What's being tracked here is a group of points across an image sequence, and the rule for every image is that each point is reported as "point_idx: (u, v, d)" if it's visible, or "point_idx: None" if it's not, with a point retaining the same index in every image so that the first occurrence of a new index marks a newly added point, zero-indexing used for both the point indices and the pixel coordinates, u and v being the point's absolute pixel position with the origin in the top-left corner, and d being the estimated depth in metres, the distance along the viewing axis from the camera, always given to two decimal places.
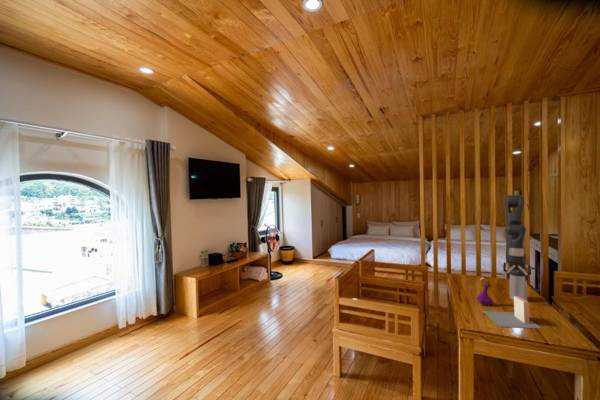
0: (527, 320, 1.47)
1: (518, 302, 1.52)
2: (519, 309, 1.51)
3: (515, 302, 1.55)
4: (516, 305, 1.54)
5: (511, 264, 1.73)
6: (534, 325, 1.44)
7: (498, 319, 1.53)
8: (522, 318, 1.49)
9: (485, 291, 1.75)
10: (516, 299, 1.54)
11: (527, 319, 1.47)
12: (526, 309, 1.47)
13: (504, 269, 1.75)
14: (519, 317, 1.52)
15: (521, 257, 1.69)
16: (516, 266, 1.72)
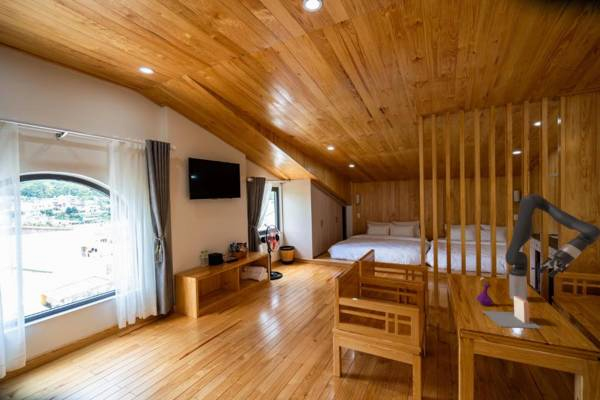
0: (527, 320, 1.47)
1: (518, 302, 1.52)
2: (519, 309, 1.51)
3: (515, 302, 1.55)
4: (516, 305, 1.54)
5: None
6: (534, 325, 1.44)
7: (498, 319, 1.53)
8: (522, 318, 1.49)
9: (485, 291, 1.75)
10: (516, 299, 1.54)
11: (527, 319, 1.47)
12: (526, 309, 1.47)
13: None
14: (519, 317, 1.52)
15: None
16: None
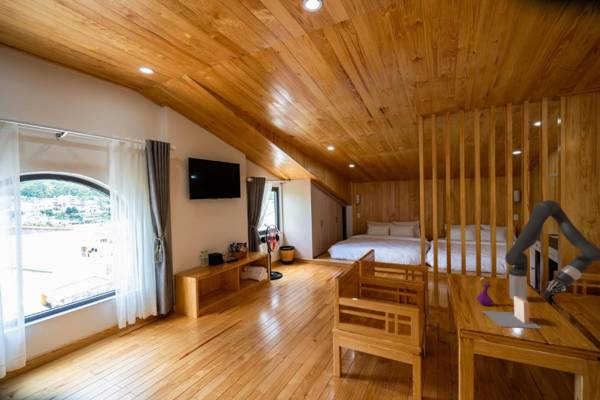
0: (527, 320, 1.47)
1: (518, 302, 1.52)
2: (519, 309, 1.51)
3: (515, 302, 1.55)
4: (516, 305, 1.54)
5: None
6: (534, 325, 1.44)
7: (498, 319, 1.53)
8: (522, 318, 1.49)
9: (485, 291, 1.75)
10: (516, 299, 1.54)
11: (527, 319, 1.47)
12: (526, 309, 1.47)
13: None
14: (519, 317, 1.52)
15: None
16: None
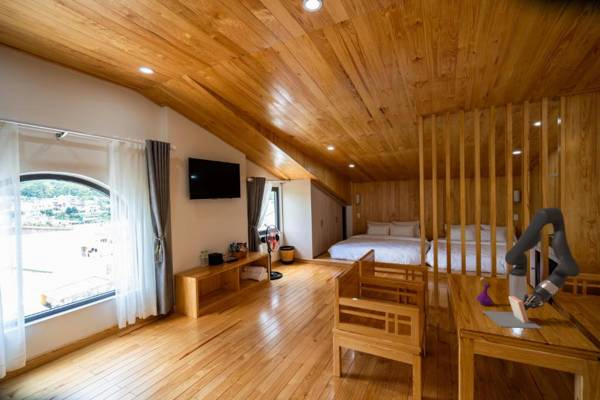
0: (526, 319, 1.47)
1: (513, 302, 1.53)
2: (516, 309, 1.52)
3: (511, 302, 1.56)
4: (513, 305, 1.54)
5: None
6: (534, 325, 1.44)
7: (498, 319, 1.53)
8: (521, 318, 1.49)
9: (485, 291, 1.75)
10: (511, 299, 1.54)
11: (526, 318, 1.47)
12: (522, 309, 1.48)
13: None
14: (518, 317, 1.52)
15: None
16: None
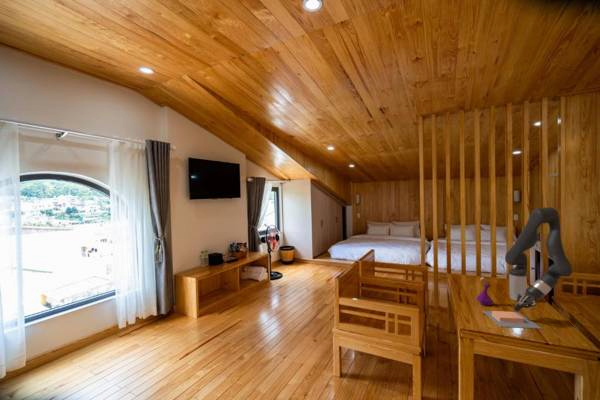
0: (520, 320, 1.48)
1: None
2: None
3: None
4: None
5: None
6: (534, 325, 1.44)
7: None
8: None
9: (485, 291, 1.75)
10: None
11: (519, 319, 1.48)
12: (508, 319, 1.49)
13: None
14: None
15: None
16: None
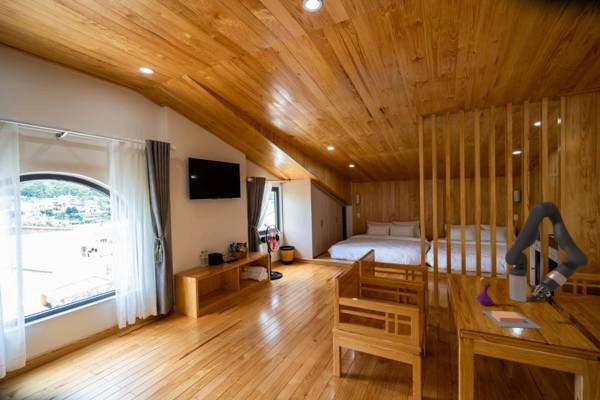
0: (520, 320, 1.48)
1: None
2: None
3: None
4: None
5: None
6: (534, 325, 1.44)
7: None
8: None
9: (485, 291, 1.75)
10: None
11: (519, 319, 1.48)
12: (508, 319, 1.49)
13: None
14: None
15: None
16: None
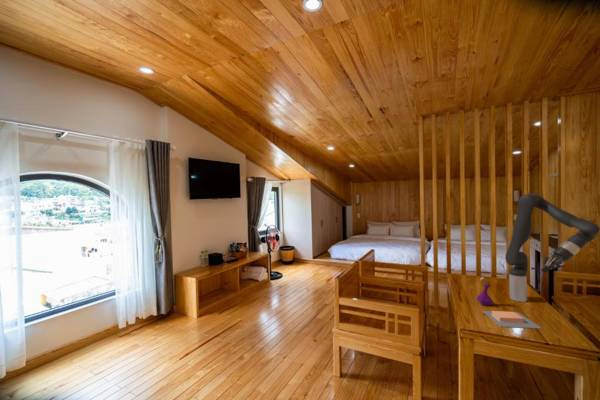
0: (520, 320, 1.48)
1: None
2: None
3: None
4: None
5: None
6: (534, 325, 1.44)
7: None
8: None
9: (485, 291, 1.75)
10: None
11: (519, 319, 1.48)
12: (508, 319, 1.49)
13: None
14: None
15: None
16: None
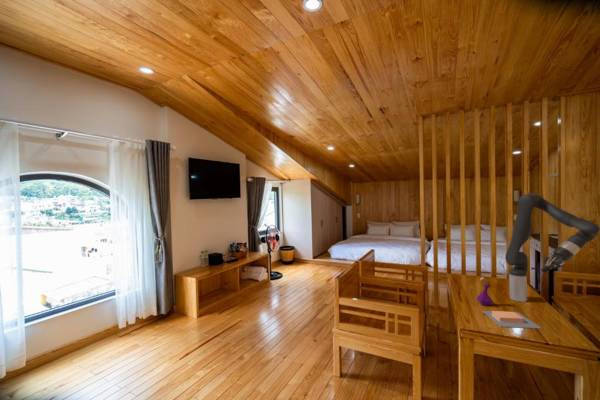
0: (520, 320, 1.48)
1: None
2: None
3: None
4: None
5: None
6: (534, 325, 1.44)
7: None
8: None
9: (485, 291, 1.75)
10: None
11: (519, 319, 1.48)
12: (508, 319, 1.49)
13: None
14: None
15: None
16: None
